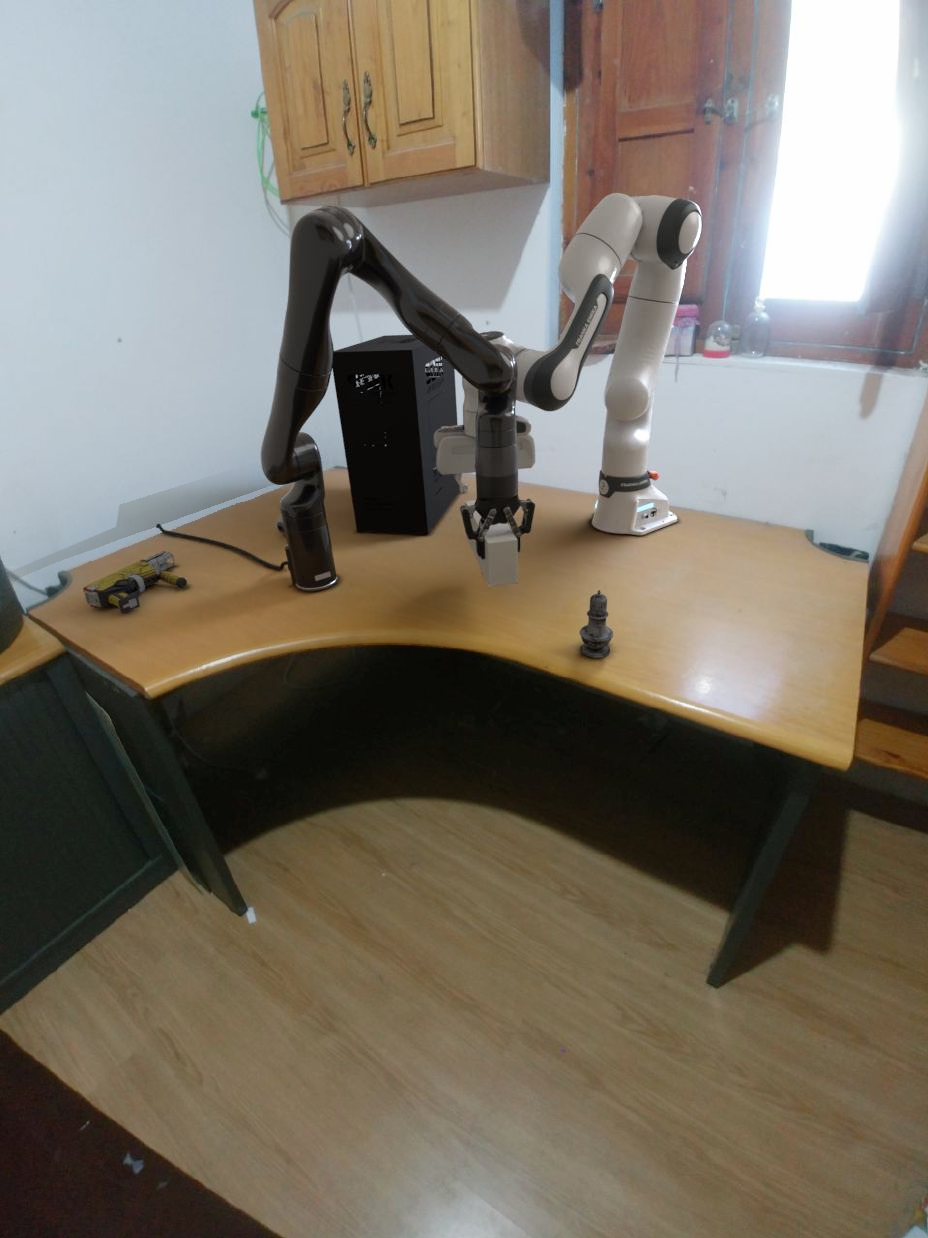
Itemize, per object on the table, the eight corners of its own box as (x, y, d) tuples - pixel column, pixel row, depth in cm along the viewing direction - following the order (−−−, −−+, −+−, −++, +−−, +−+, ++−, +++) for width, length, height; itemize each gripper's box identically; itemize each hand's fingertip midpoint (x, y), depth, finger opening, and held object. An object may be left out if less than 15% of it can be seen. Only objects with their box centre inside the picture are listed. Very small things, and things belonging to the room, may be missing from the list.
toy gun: (211, 559, 145) (160, 548, 149) (132, 601, 125) (76, 587, 129) (214, 576, 147) (164, 565, 151) (137, 620, 127) (82, 606, 131)
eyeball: (273, 537, 164) (268, 516, 161) (287, 528, 169) (282, 508, 166) (291, 539, 161) (286, 518, 158) (305, 530, 166) (301, 510, 163)
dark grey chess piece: (612, 659, 105) (617, 599, 99) (577, 657, 106) (581, 597, 100) (611, 641, 110) (616, 582, 104) (579, 639, 111) (582, 581, 105)
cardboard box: (428, 534, 159) (412, 349, 137) (356, 531, 164) (329, 352, 141) (461, 489, 191) (452, 333, 168) (400, 488, 195) (384, 335, 173)
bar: (466, 539, 134) (465, 501, 130) (491, 537, 135) (490, 498, 130) (489, 586, 114) (487, 543, 109) (517, 583, 115) (517, 539, 110)
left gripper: (460, 478, 103) (465, 568, 111) (541, 470, 104) (540, 559, 113) (453, 466, 109) (458, 552, 118) (530, 459, 111) (529, 544, 119)
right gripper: (435, 430, 114) (438, 500, 122) (539, 423, 117) (536, 492, 124) (431, 423, 120) (434, 490, 127) (530, 416, 123) (528, 482, 130)
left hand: (498, 555), depth 115 cm, fingers closed on bar, 5 cm apart
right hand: (485, 491), depth 126 cm, fingers open, 8 cm apart
